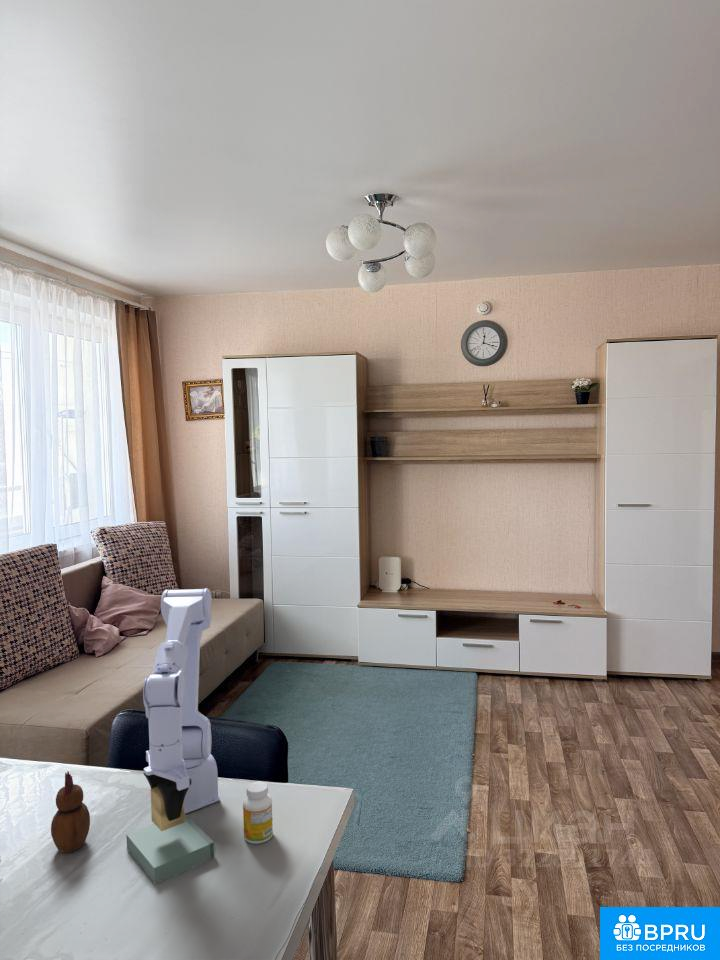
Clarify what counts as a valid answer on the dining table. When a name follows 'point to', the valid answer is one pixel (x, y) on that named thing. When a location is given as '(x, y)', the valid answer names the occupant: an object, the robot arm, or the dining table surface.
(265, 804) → the supplement bottle
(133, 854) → the green flat slab
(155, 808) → the block
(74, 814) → the wooden figurine
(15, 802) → the dining table surface
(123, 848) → the dining table surface
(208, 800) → the robot arm
